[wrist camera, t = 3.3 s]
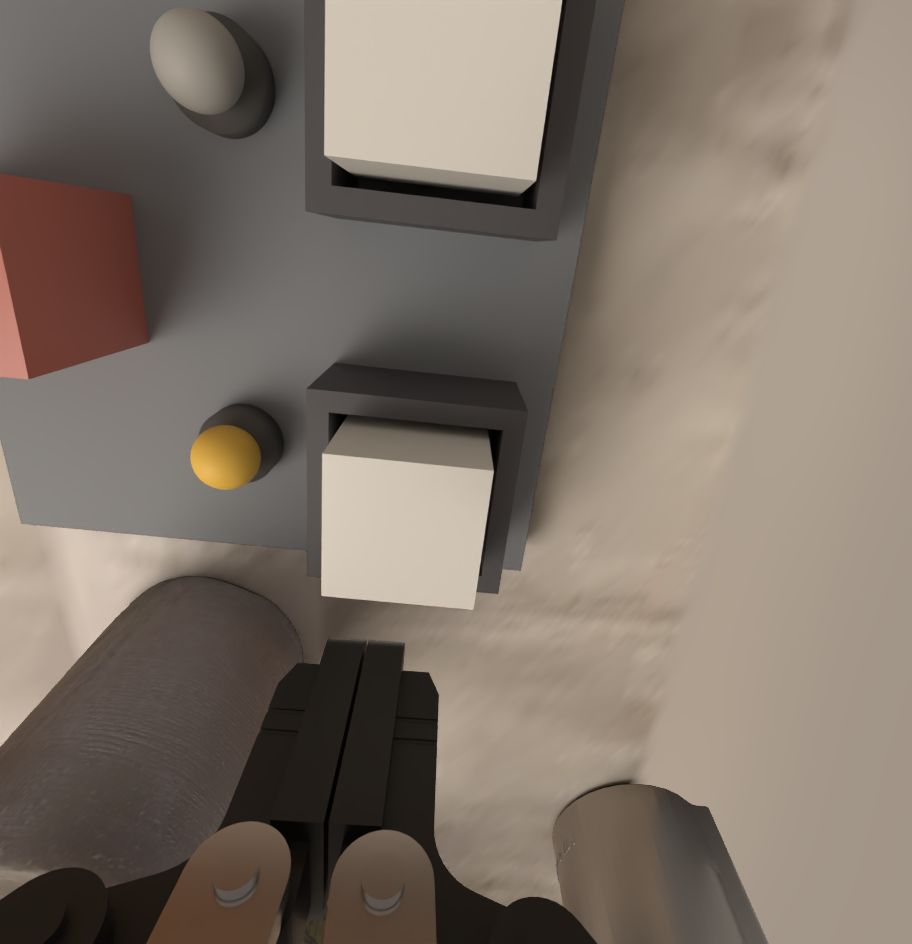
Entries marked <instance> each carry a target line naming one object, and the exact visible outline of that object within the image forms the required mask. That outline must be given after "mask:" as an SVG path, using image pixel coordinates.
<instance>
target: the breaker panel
mask: <svg viewBox="0 0 912 944" xmlns="http://www.w3.org/2000/svg"><path fill="white" fill-rule="evenodd" d="M624 1H625V0H562V6H561V13H560V20H559V27H558V34H557V40H556V47H555V54H554V61H553V68H552V75H551V82H550V89H549V95H548V102H547V109H546V116H545V123H544V130H543V137H542V143H541V150H540V157H539V164H538V171H537V178H536V181H535V182H534V183H533V184H532V185H531V186H530V187H528V188H527V189H526V190H525V191H524V192H523V193H522V194H520V195H519V196H510V195H502V194H493V193H485V192H476V191H468V190H460V189H451V188H443V187H434V186H426V185H418V184H409V183H401V182H392V181H384V180H376V179H367V178H359V177H355V176H354V175H352V174H351V173H350V172H348V171H347V170H345V169H344V168H342V167H341V166H339V165H338V164H336V163H335V162H333V161H332V160H330V159H329V158H327V157H326V156H324V103H325V0H0V174H6V175H12V176H19V177H25V178H31V179H37V180H43V181H50V182H56V183H62V184H68V185H75V186H81V187H87V188H93V189H99V190H106V191H112V192H118V193H124V194H130V195H131V202H132V211H133V219H134V227H135V235H136V244H137V252H138V260H139V268H140V277H141V285H142V293H143V301H144V310H145V318H146V326H147V334H148V343H147V344H143V345H140V346H137V347H134V348H130V349H127V350H124V351H120V352H117V353H114V354H111V355H107V356H104V357H101V358H98V359H94V360H91V361H88V362H85V363H81V364H78V365H75V366H71V367H68V368H65V369H62V370H58V371H55V372H52V373H49V374H45V375H42V376H39V377H36V378H32V379H29V380H28V379H19V378H9V377H0V440H1V444H2V448H3V452H4V456H5V460H6V464H7V468H8V472H9V477H10V481H11V485H12V489H13V493H14V497H15V501H16V505H17V509H18V513H19V517H20V521H21V524H30V525H40V526H51V527H62V528H72V529H83V530H93V531H104V532H115V533H125V534H136V535H147V536H157V537H168V538H178V539H189V540H200V541H210V542H221V543H232V544H242V545H253V546H263V547H274V548H285V549H295V550H306V551H307V576H310V577H321V555H322V453H323V452H324V450H325V449H326V447H327V446H328V444H329V443H330V441H331V440H332V438H333V437H334V435H335V434H336V432H337V431H338V429H339V428H340V426H341V425H342V423H343V422H344V420H345V419H346V417H347V416H348V414H349V415H359V416H369V417H379V418H388V419H398V420H408V421H417V422H427V423H437V424H446V425H456V426H466V427H475V428H485V429H488V436H489V442H490V449H491V456H492V462H493V469H494V473H493V480H492V487H491V494H490V500H489V507H488V514H487V521H486V528H485V535H484V542H483V548H482V555H481V562H480V569H479V576H478V583H477V590H476V592H483V593H494V594H498V591H499V585H500V579H501V573H502V569H508V570H518V571H521V566H522V561H523V555H524V550H525V544H526V539H527V533H528V528H529V522H530V517H531V511H532V506H533V500H534V495H535V489H536V484H537V478H538V473H539V467H540V462H541V456H542V451H543V445H544V440H545V434H546V429H547V423H548V418H549V412H550V407H551V401H552V396H553V390H554V385H555V379H556V374H557V368H558V363H559V357H560V352H561V346H562V341H563V335H564V330H565V324H566V319H567V314H568V308H569V303H570V297H571V292H572V286H573V281H574V275H575V270H576V264H577V259H578V253H579V248H580V242H581V237H582V231H583V226H584V220H585V215H586V209H587V204H588V198H589V193H590V187H591V182H592V176H593V171H594V165H595V160H596V154H597V149H598V143H599V138H600V132H601V127H602V121H603V116H604V110H605V105H606V99H607V94H608V88H609V83H610V77H611V72H612V66H613V61H614V55H615V50H616V44H617V39H618V33H619V28H620V22H621V17H622V11H623V6H624Z"/></svg>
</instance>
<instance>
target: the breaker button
mask: <svg viewBox="0 0 912 944" xmlns="http://www.w3.org/2000/svg"><path fill="white" fill-rule="evenodd" d="M561 6H562V0H325V103H324V156H326V157H327V158H329V159H330V160H332V161H333V162H335V163H336V164H338V165H339V166H341V167H342V168H344V169H345V170H347V171H348V172H350V173H351V174H352V175H354V176H355V177H359V178H367V179H376V180H384V181H392V182H401V183H409V184H418V185H426V186H434V187H443V188H451V189H460V190H468V191H476V192H485V193H493V194H502V195H510V196H519V195H520V194H522V193H523V192H524V191H525V190H526V189H527V188H528V187H530V186H531V185H532V184H533V183H534V182H535V181H536V178H537V171H538V164H539V157H540V150H541V143H542V137H543V130H544V123H545V116H546V109H547V102H548V95H549V89H550V82H551V75H552V68H553V61H554V54H555V47H556V40H557V34H558V27H559V20H560V13H561Z"/></svg>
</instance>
